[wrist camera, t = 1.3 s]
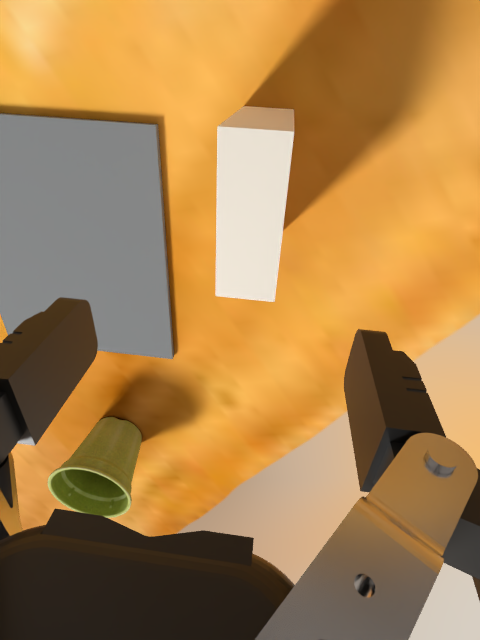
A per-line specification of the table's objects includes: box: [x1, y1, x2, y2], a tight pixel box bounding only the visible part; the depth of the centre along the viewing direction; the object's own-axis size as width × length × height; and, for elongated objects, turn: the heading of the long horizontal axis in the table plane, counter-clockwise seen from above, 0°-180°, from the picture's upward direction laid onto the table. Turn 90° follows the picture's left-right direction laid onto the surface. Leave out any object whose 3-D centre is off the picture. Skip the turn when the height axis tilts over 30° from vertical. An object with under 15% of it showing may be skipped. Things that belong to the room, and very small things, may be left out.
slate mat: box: [0, 113, 174, 359], centre depth 34 cm, size 22×18×1 cm
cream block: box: [216, 106, 294, 302], centre depth 24 cm, size 9×4×11 cm, turn 177°
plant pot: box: [48, 417, 142, 518], centre depth 45 cm, size 9×9×9 cm
